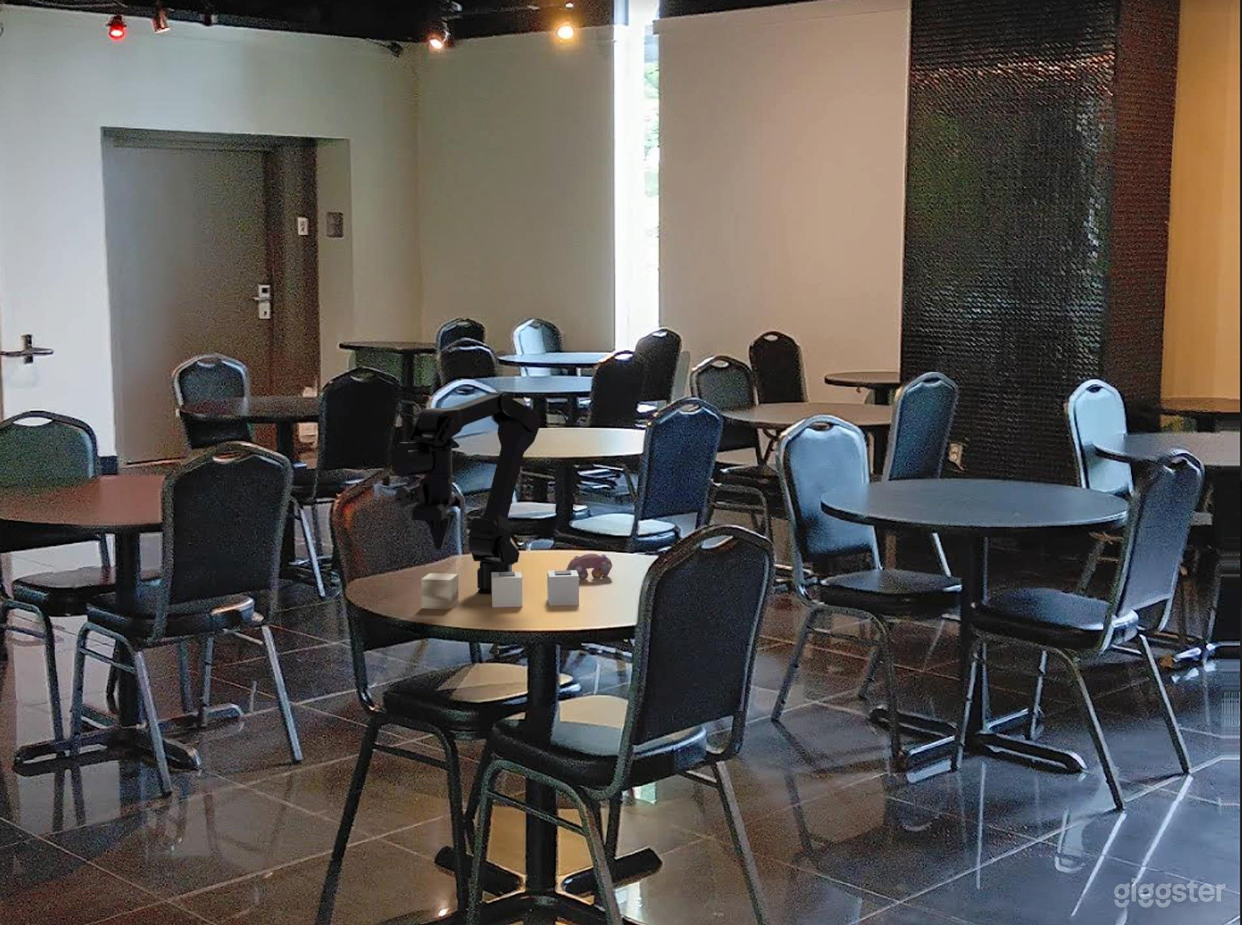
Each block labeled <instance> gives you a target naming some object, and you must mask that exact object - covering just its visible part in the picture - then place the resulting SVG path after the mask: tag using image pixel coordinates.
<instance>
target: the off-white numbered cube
mask: <svg viewBox="0 0 1242 925" xmlns="http://www.w3.org/2000/svg"><path fill="white" fill-rule="evenodd" d="M491 604H492V605H491V606H492V608H510V607H511V608H514V607H517V608H518V607H519V608H520V607H523V606H524V605H523V575H522V572H521V571H512V572H492V593H491Z"/></svg>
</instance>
